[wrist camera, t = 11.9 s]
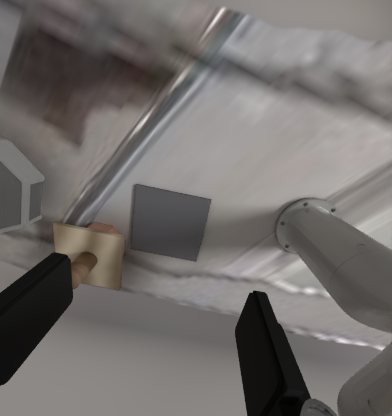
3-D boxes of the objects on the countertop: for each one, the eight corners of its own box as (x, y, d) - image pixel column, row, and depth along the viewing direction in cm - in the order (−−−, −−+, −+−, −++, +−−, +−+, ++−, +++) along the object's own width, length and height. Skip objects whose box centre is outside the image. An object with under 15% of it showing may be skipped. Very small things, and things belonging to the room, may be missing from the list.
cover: (124, 235, 35) (107, 257, 29) (120, 287, 40) (105, 315, 34) (56, 221, 35) (23, 241, 29) (60, 275, 40) (33, 302, 33)
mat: (211, 199, 37) (211, 200, 37) (196, 260, 43) (196, 261, 42) (137, 184, 37) (136, 184, 36) (131, 247, 42) (130, 248, 42)
